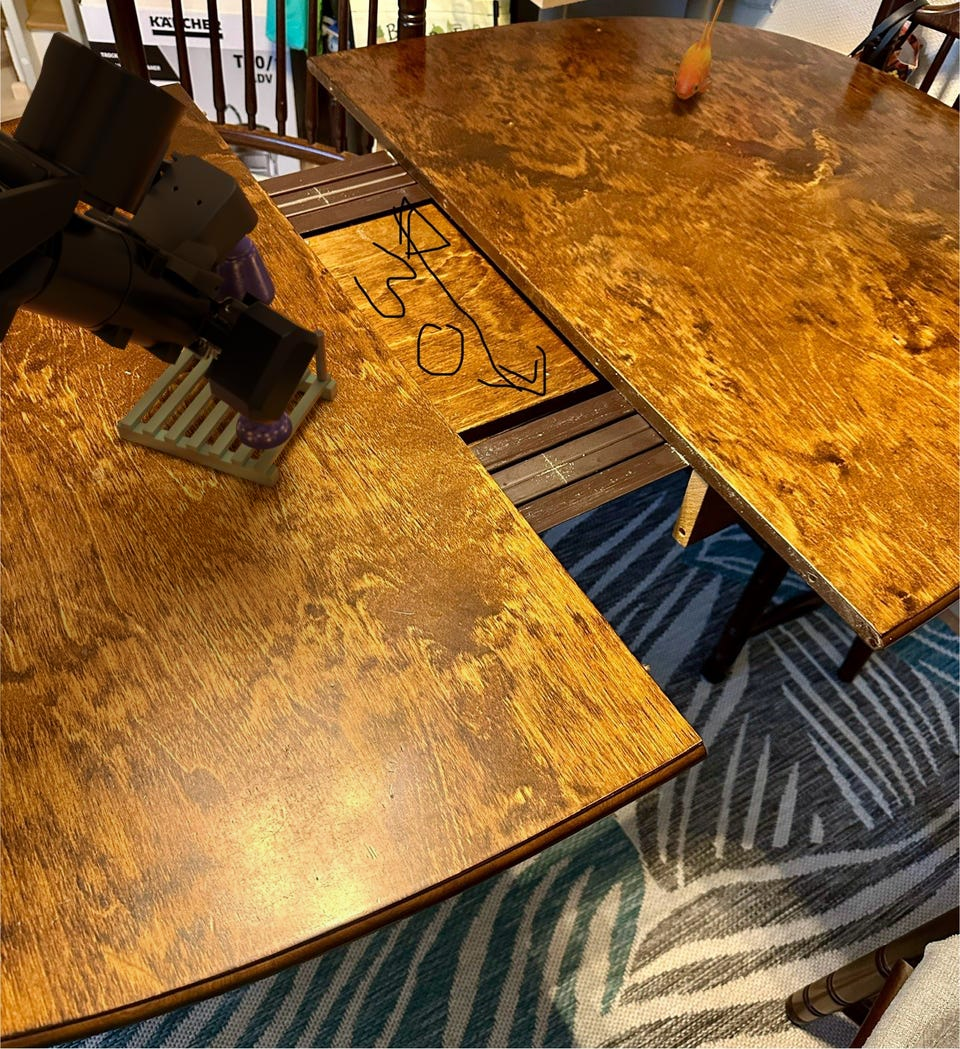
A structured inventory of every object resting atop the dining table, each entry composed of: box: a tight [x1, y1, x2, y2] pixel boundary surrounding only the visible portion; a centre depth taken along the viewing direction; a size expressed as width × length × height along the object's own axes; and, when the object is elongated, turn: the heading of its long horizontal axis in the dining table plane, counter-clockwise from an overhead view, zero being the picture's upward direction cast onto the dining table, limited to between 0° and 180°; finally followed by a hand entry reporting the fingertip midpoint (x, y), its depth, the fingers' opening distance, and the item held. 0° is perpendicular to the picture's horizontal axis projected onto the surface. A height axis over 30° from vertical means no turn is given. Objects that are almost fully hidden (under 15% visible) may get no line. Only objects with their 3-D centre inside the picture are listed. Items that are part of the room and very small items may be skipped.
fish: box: [672, 0, 725, 100], centre depth 119 cm, size 22×6×10 cm, turn 159°
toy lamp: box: [210, 235, 293, 451], centre depth 62 cm, size 5×5×17 cm
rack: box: [115, 329, 339, 489], centre depth 74 cm, size 14×12×7 cm
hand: (262, 341), depth 63 cm, fingers closed on toy lamp, 4 cm apart
